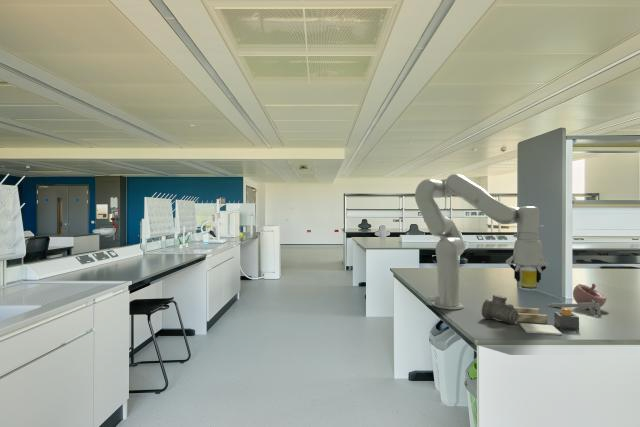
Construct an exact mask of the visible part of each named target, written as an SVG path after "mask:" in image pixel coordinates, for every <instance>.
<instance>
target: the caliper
mask: <svg viewBox="0 0 640 427" xmlns="http://www.w3.org/2000/svg"><path fill="white" fill-rule="evenodd" d="M592 303H593V304H592ZM592 303H579V304H577V303H561V302H560V303H551V302H550V303H549V304H546V306H547V307H548V306H549V307H551V308H552V307H553V308H579V309H580V310H589V311H590V312H591V314H592V315H593V316H595V315H597V316H601V314H602V313H601V307H600V305H599V303H597V300H595V302H594V301H593V300H592ZM588 308H589V309H588ZM594 308H596V309H594ZM595 311H596V312H595ZM596 313H597V314H596Z"/></svg>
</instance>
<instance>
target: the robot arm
mask: <svg viewBox="0 0 640 427" xmlns="http://www.w3.org/2000/svg"><path fill="white" fill-rule="evenodd" d="M449 196H450V197H451V196H457V197H458V198H460V199H462V200H464V201H465V202H467V203H468V204H470V205H471V206H472V207H474V208H475V209H476V210H478V211H479V212H480V213H483V214H484V215H485V216H487V217H488V218H490V219H491V220H493V221H494V222H496V223H498V224H500V225H515V224H517V232H516V233H513V238H516V240H515V241H514V246H513V254H512V255H511V256H510V257H509V258H507V259H506V260H505V263H506V264H507V265H508V266H509V267H510V268H511V269H512V270H513V272H514V273H513V274H514V275H513V276H514V277H513V278H514V279H515V281H516V282H518V281H519V273H520V272H519V268H520V266H521V265H525V266H534V267H535V268H536V269H537V283H540V281H541V280H542V273H543V271H545V270H546V269H547V268H548V267H549V266H550V265H551V262H550V261H548V260H547V259H546V258H545V257H544V252H543V243H542V241H541V240H540V238H539V235H540V232H539V231H540V209H539V208H538V207H537V206H519V207H517V206H510V205H509V206H508V205H506V204H504V203H503V202H501V201H499V200H498V199H496V198H494V197H493V196H491V195H490V194H489V193H488V191H487V190H486V189H485V188H484V187H481V186H480V185H478V184H476V183H475V182H473V181H471V180H470V179H469V178H468V177H467V176H465V175H463V174H460V173H452V174H450V175H448V176H447V177H446V178H444V179H439V180H437V179H434V178H426V179H423V180H421V181H420V182H419V184H418V185H417V187H416V188H415V193H414V199H415V202H416V203H415V204H416V206H417V208H418V210H419V212H420V213H421V216H422V219H423V221H424V223H425V225H426V227H427V229H428V232H429V233H430V234H431V236H434V237H439V240H438V241H437V243H436V245H435V255H436V256H435V257H436V266H437V267H436V268H437V269H436V270H437V274H436V275H437V279H436V280H437V282H436V283H437V285H436V286H437V294H436V295H434V296H427V297H426V298H427V299H426V301H430V302H434V303H433V306H434V307H436V308H439V309H442V310H453V311H454V310H462V309H464V304H463V303H461V302H460V298H461V297H460V263H459V262H460V261H459V257H460V256H461V255H462V254H464V252H465V249H466V246H465V245H466V244H465V241H464V239H463V237H462V236H461V233H460V232H459V229H458V227H457V225H456V223H455V222H454V221H453V220H452V219H451V218H450V217H448V216H445V215H443V213H442V211H441V210H440V207H439V206H438V203H437V202H436V201H435V199H434V198H436V199H437V198H444V197H449ZM512 262H513V263H514V264H513V263H512Z"/></svg>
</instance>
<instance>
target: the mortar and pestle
mask: <svg viewBox="0 0 640 427" xmlns="http://www.w3.org/2000/svg"><path fill="white" fill-rule="evenodd" d="M596 287H597V286H596V284H595V283H592V284H591V287H590V286H589V285H586V284H581V283H578V284H576V286H575V287H574V288H573V290H572V297H573V299H574V301H575V302H576V303H575V304H579V303H592V300H593V301H594V302H595V300H597V303H599V305H600V308H601V307H603V306H604V305H605V304H606V302H607V297H606V296H605V295H604V294H602V293H601V292H600V291H598V290H596ZM592 304H593V303H592ZM587 310H590V309H589V308H588V309H587ZM594 310H596V308H594Z"/></svg>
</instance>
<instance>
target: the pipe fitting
mask: <svg viewBox="0 0 640 427" xmlns="http://www.w3.org/2000/svg"><path fill="white" fill-rule="evenodd" d="M507 298H508V297H506V296H505V295H500V294H492V298H486V299H485V300H484V302H483V303H482V307H481V315H482V317H483V319H487V320H492V319H494V320H495V319H496V320H498V321H500V322H503V323H507V324H510V325H515V324H516V323H517V322H518V312H517V310H516V309H514V307H515V306H514V305H513V304H510V303H507V300H508V299H507Z"/></svg>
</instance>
